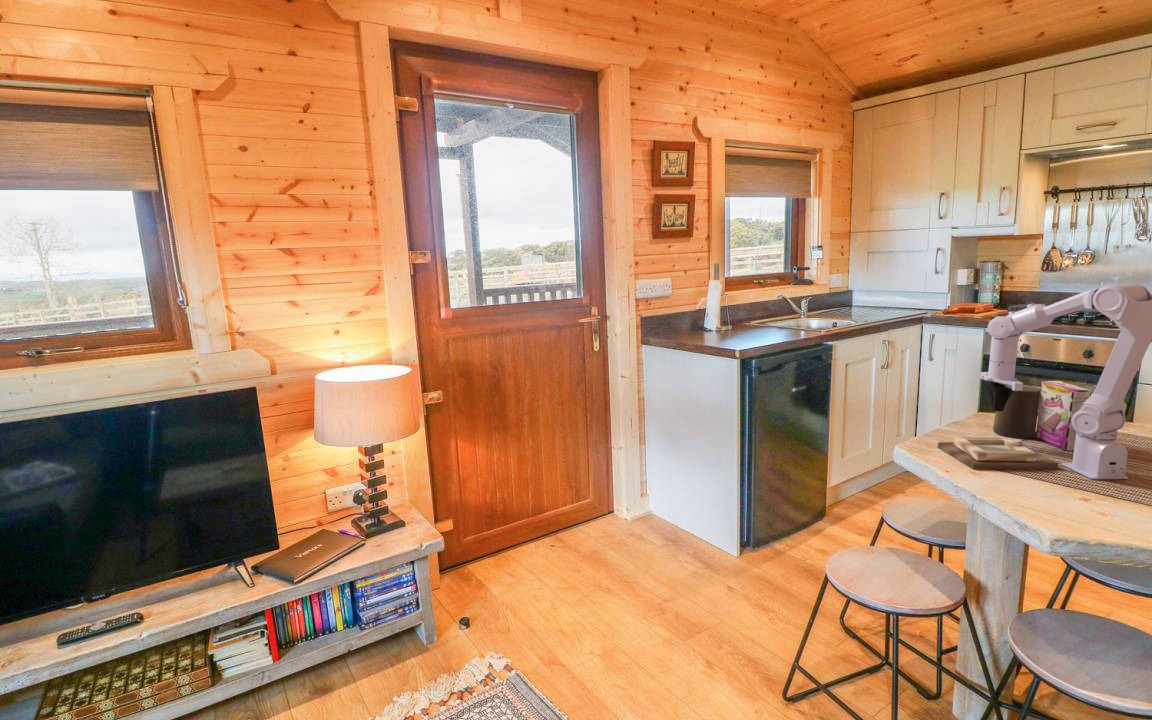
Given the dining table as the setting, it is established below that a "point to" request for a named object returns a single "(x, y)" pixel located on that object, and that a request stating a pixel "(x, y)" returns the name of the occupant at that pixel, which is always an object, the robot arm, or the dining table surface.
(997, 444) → the cabinet door with knob
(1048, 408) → the candy bar box
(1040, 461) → the walnut board
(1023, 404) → the pillar candle
